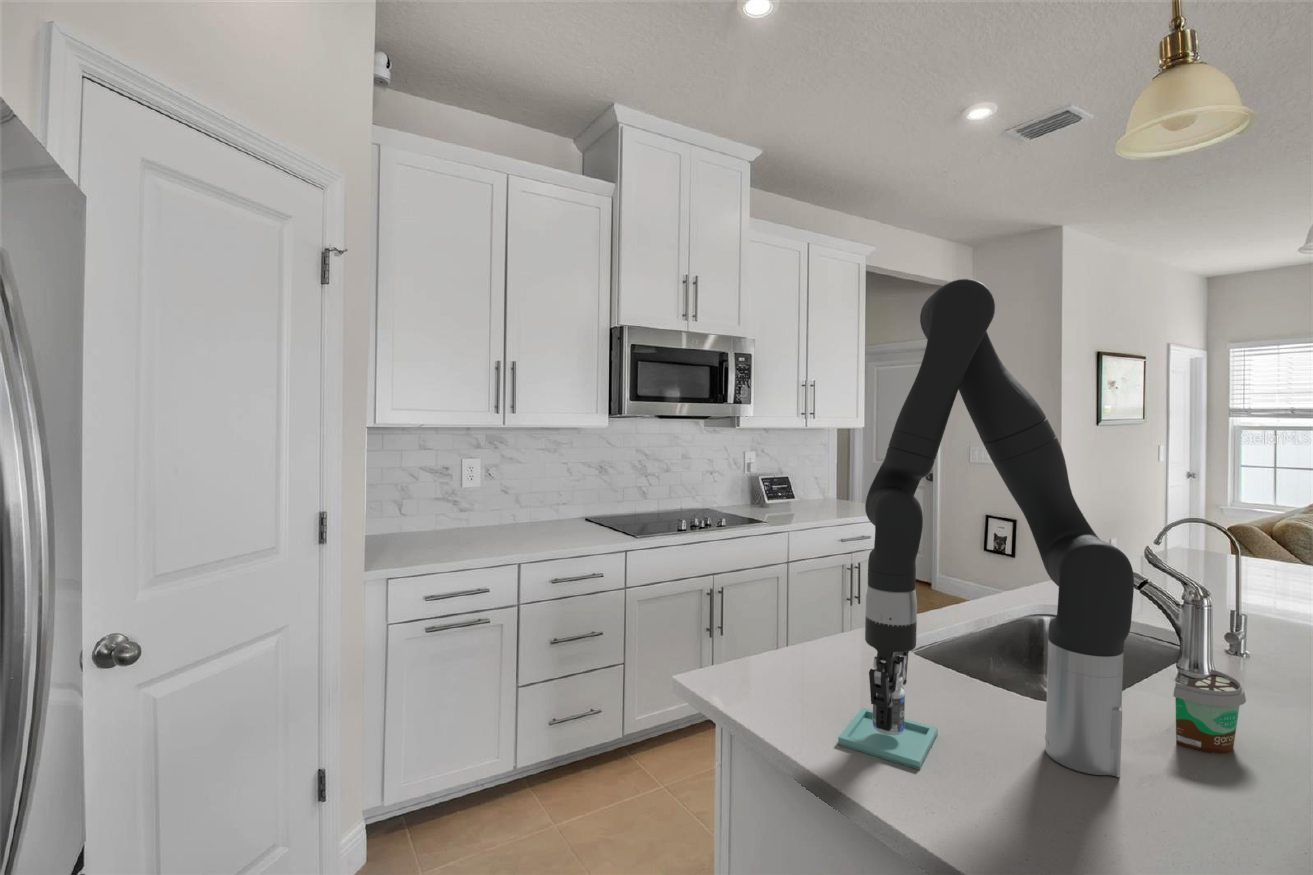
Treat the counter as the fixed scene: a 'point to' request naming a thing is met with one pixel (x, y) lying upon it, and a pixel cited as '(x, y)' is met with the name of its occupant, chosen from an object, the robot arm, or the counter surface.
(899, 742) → the tray
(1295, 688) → the counter surface
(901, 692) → the pill bottle
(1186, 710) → the food container
